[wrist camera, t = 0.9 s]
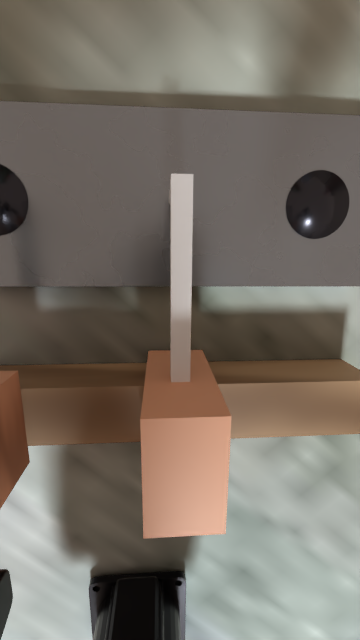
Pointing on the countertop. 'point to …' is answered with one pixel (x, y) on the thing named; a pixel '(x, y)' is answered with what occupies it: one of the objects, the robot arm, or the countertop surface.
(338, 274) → the flange plate
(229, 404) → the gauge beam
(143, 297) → the countertop surface
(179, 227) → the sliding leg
